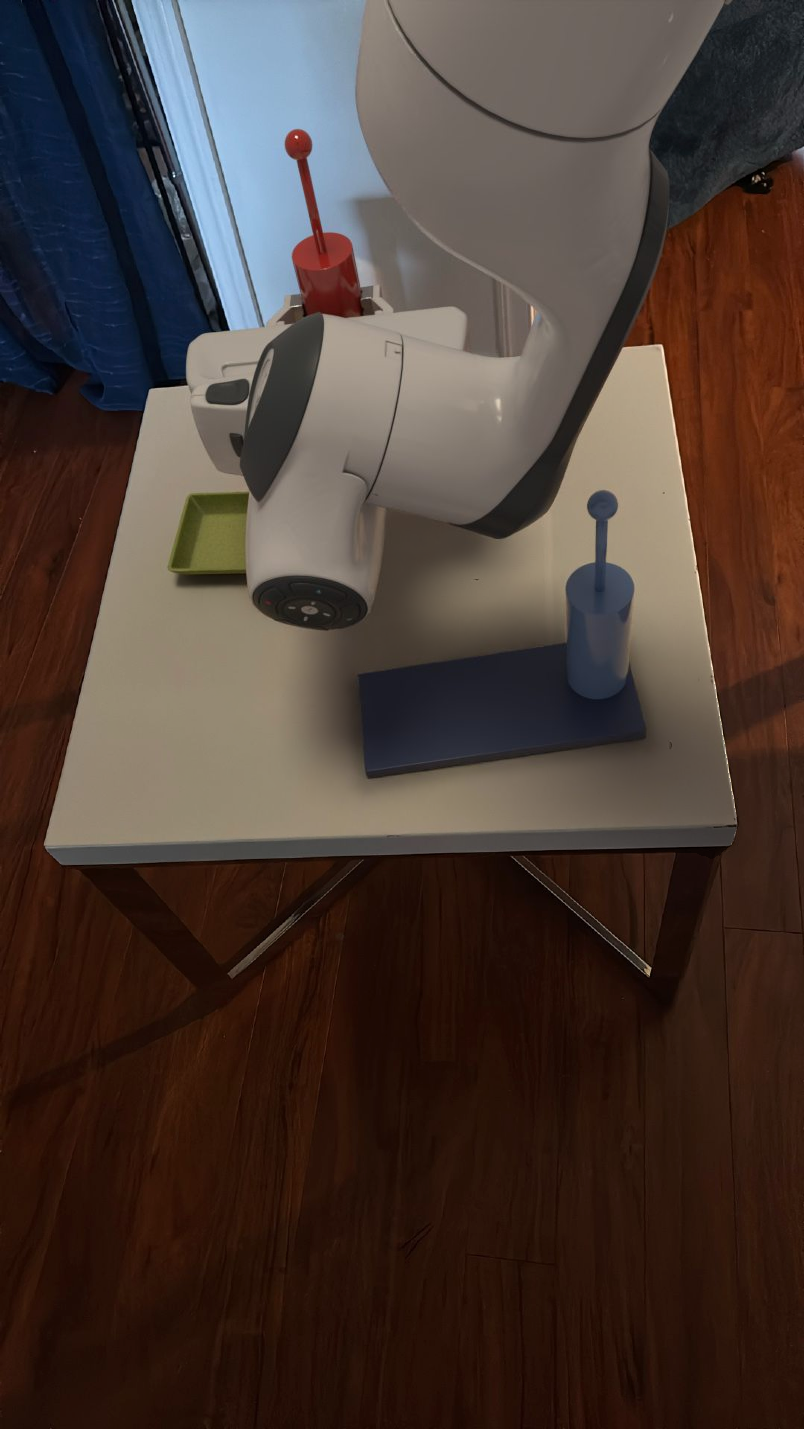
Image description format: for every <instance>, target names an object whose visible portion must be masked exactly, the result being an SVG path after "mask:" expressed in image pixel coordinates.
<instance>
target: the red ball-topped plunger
mask: <svg viewBox="0 0 804 1429" xmlns="http://www.w3.org/2000/svg"><path fill="white" fill-rule="evenodd" d="M284 150H285V152H286V155H288V157H290V158H291V159H292V160H295V162H296V164H297V169H298V173H299V177H300V182H301V187H302V191H303V197H304V200H305V205H306V209H307V213H308V217H309V222H310V227H311V231H312V235H309V236H307V237H305V238H304V239H302V240H300V241H299V242H298V243H297V244H296V245H295V246H294V248H293V250H292V252H291V260H292V265H293V270H294V273H295V276H296V281H297V285H298V289H299V294H301V297H302V301H303V305H304V309H305V313H306V317H307V316H309V315H311V314H314V313H317V312H320V313H321V314H328V315H334V316H339V317H343V318H350V317H359V316H363V308H362V307H361V302H360V295H361V287H362V286H361V282H360V278H359V272H358V267H357V262H356V257H355V252H354V246H353V242H352V241H351V239H350V238H349V237H347V236H346V235H345V234H342V233H338V232H331V231H329V232H328V231H327V232H326V231H325V232H324V231H323V226H322V221H321V217H320V211H319V208H318V203H317V198H316V194H315V190H314V185H313V179H312V175H311V170H310V166H309V161H308V157H309V156H310V155H311V153H312V151H313V140H312V138H311V136H310V134H309V133H308V132H307V131H306V130H305V129H301V128H294V129H292V130H290V131H289V132H288V133H287V134H286V136H285V139H284Z"/></svg>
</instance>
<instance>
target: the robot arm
mask: <svg viewBox="0 0 804 1429" xmlns="http://www.w3.org/2000/svg"><path fill="white" fill-rule="evenodd" d="M732 1H733V0H365V5H364V10H363V15H362V21H361V27H360V34H359V41H358V48H357V56H356V66H355V74H354V75H355V77H354V100H355V108H356V113H357V114H356V115H357V119H358V122H359V127H360V131H361V135H362V137H363V139H364V142H365V143H364V144H365V146H366V149H367V152H368V154H369V156H370V159H371V161H372V163H373V165H374V168H375V169H376V171H377V173H378V175H379V177H380V178H381V180H382V182H383V183H384V185H385V188H386V189H387V191H388V192H389V193H390V195H391V196H392V198H393V199H394V201H395V202H396V204H397V205H398V206H399V207H400V209H401V210H402V211H403V213H404V214H405V216H406V217H408V219H410V222H412V223H413V224H414V226H416V227H417V228H418V229H419V230H420V231H421V232H422V234H424V235H425V236H426V237H427V238H428V239H430V241H432V242H433V243H435V245H437V246H438V247H440V248H441V249H443V250H444V251H445V252H447V253H449V254H450V255H452V256H454V257H455V258H457V259H459V260H460V261H462V262H464V263H466V264H468V265H469V266H471V267H473V268H475V269H477V270H478V271H480V272H482V273H484V274H486V275H487V276H489V277H490V278H492V279H494V280H495V281H497V282H499V283H500V284H502V285H503V286H505V287H506V288H507V289H509V290H510V291H512V292H513V293H515V294H516V295H518V296H519V297H520V298H521V299H523V300H524V301H525V302H526V303H527V304H528V305H529V306H531V308H533V309H534V310H535V311H536V312H535V315H534V318H533V320H532V323H531V325H530V326H531V327H530V329H529V331H528V334H527V337H526V340H525V343H524V345H523V349H522V352H521V354H520V355H519V356H510V357H496V356H487V355H480V354H477V353H472V352H471V338H470V334H471V333H470V326H469V319H468V315H467V314H466V313H465V312H464V311H463V310H461V309H459V308H458V307H457V306H442V307H432V308H423V309H415V310H404V311H397V312H396V311H395V309H394V308H393V306H391V305H390V304H389V303H388V302H387V301H386V300H385V299H384V298H383V292H382V286H381V284H375V285H367V286H360V287H361V295H360V302H361V307H362V308H363V316H359V317H350V318H343V317H339V316H334V315H328V314H321V313H320V312H317V313H314V314H311V315H309V316H307V317H306V313H305V309H304V305H303V301H302V297H301V293H296V294H286V295H284V298H283V307H281V308H280V309H279V310H278V311H276V313H275V314H274V315H272V316H271V318H270V319H268V320H267V321H266V322H265V326H259V327H251V328H242V329H234V330H223V331H216V332H215V331H214V332H205V333H202V334H200V335H198V336H197V337H196V338H195V339H193V340H192V341H191V342H190V343H189V345H188V347H187V351H186V352H187V353H186V361H185V379H186V384H187V386H188V389H189V392H190V399H189V404H190V408H191V414H192V418H193V420H194V423H195V427H196V430H197V433H198V435H199V439H200V440H201V442H202V445H203V447H204V449H205V451H206V454H207V455H208V457H209V459H210V461H211V463H212V464H213V466H214V468H215V469H216V470H217V471H218V472H220V473H222V474H228V475H234V476H240V477H243V479H244V481H245V484H246V486H247V488H248V490H249V492H250V493H249V500H248V508H247V519H246V537H245V556H246V573H245V574H246V575H245V576H246V584H247V592H248V596H249V599H250V601H251V603H252V604H253V606H254V608H256V609H257V610H258V611H259V612H260V613H262V614H263V615H264V616H266V617H267V618H269V619H272V620H273V621H275V622H277V623H280V624H283V625H288V626H291V627H292V626H293V627H297V628H301V629H306V630H307V629H308V630H314V631H322V632H323V631H324V632H329V631H334V630H342V629H346V628H349V627H353V626H355V625H357V624H359V623H361V622H362V621H364V620H365V619H366V618H367V617H368V616H369V615H370V613H371V610H372V607H373V604H374V601H375V598H376V594H377V589H378V584H379V579H380V574H381V568H382V562H383V555H384V546H385V540H386V539H385V536H386V526H387V524H386V522H387V509H388V510H392V511H396V512H401V513H405V514H408V515H414V516H417V517H422V518H427V519H430V520H436V521H438V522H439V521H440V522H442V523H443V522H444V523H447V524H448V525H449V526H453V527H456V528H459V529H462V530H465V531H469V532H471V533H474V534H477V535H481V536H483V537H487V538H490V539H494V540H503V539H506V538H508V537H511V536H513V535H514V534H517V533H518V532H521V531H522V530H524V529H526V528H527V527H529V526H531V525H533V524H534V523H536V522H537V521H538V520H539V519H541V518H542V517H543V516H545V515H546V514H547V513H548V512H549V510H551V507H552V506H553V504H554V502H555V500H556V498H557V496H558V494H559V491H560V488H561V486H562V484H563V483H562V482H563V480H564V478H565V475H566V473H567V470H568V467H569V463H570V461H571V458H572V455H573V452H574V449H575V446H576V444H577V441H578V440H579V439H578V438H579V437H580V434H581V432H582V430H583V428H584V426H585V424H586V422H587V420H588V418H589V416H590V414H591V412H592V410H593V408H594V406H595V404H596V402H597V400H598V398H599V396H600V394H601V393H602V390H603V388H604V386H605V384H606V382H607V380H608V378H609V376H610V374H611V372H612V370H613V369H614V366H615V365H616V362H617V360H618V358H619V356H620V354H621V352H622V350H623V348H624V345H625V344H626V342H627V340H628V338H629V336H630V333H631V332H632V329H633V327H634V325H635V322H636V321H637V318H638V316H639V314H640V312H641V310H642V307H643V305H644V302H645V300H646V298H647V296H648V294H649V290H650V288H651V286H652V283H653V280H654V278H655V275H656V273H657V270H658V267H659V264H660V260H661V256H662V253H663V249H664V244H665V239H666V234H667V227H668V220H669V209H670V179H669V173H668V171H667V170H666V168H665V167H664V166H663V164H662V163H661V162H660V161H659V159H658V158H657V156H656V155H655V154H654V152H653V151H652V150H651V149H650V142H651V141H650V140H651V136H652V132H653V130H654V128H655V125H656V122H657V120H658V118H659V116H660V115H661V113H662V111H663V110H664V107H665V106H666V104H667V102H668V101H669V99H670V98H671V96H672V95H673V94H674V92H675V90H676V88H677V87H678V85H679V83H680V82H681V80H682V79H683V77H684V75H685V73H686V72H687V70H688V69H689V67H690V65H691V63H692V62H693V60H694V59H695V57H696V55H697V54H698V52H699V50H700V48H701V46H702V45H703V43H704V40H705V39H706V37H707V35H708V34H709V33H710V31H711V29H712V26H713V25H714V23H715V21H716V19H717V17H718V15H719V14H720V12H721V10H722V8H723V6H724V4H725V5H727V6H728V5H730V4H731V3H732Z"/></svg>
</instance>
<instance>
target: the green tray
mask: <svg viewBox="0 0 804 1429" xmlns="http://www.w3.org/2000/svg"><path fill="white" fill-rule="evenodd" d="M249 493H250V491H232V492H231V491H230V492H227V491H226V492H225V491H224V492H192V493H191V492H190V493H189V494H188V495H186V498H185V501H184V505H183V509H182V513H181V515H180V520H179V525H178V527H177V531H176V534H175V537H174V538H175V539H174V542H173V545H172V549H171V552H170V556H169V560H168V564H167V571H168V572H170V573H174V574H178V575H224V574H225V575H226V574H227V575H228V574H229V575H230V574H231V575H232V574H234V575H235V574H237V575H238V574H246V556H245V537H246V519H247V508H248V500H249Z"/></svg>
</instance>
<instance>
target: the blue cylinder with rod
mask: <svg viewBox="0 0 804 1429" xmlns="http://www.w3.org/2000/svg"><path fill="white" fill-rule="evenodd" d="M618 509H619V500H618V498H617V496H616V495H615V494H614V493H613V492H611V491H610V490H607V489H600V490H599V489H598V490H596V491H594V492H593V493H591V495H590V496H589V497H588V499H587V503H586V511H587V513H588V515H589V516H590V518H591V519H593V520H595V542H594V543H595V544H594V545H595V546H594V547H595V548H594V562H589V563H586V564H584V565H581V566H580V567H579V566H578V567H577V569H575V570H574V571H573V572H571V574H570V575H569V577H568V578H567V580H566V582H565V589H564V590H565V592H564V593H565V594H564V596H565V598H564V599H565V642H566V676H567V681H568V683H569V685H570V687H571V688H572V689H573V690H574V691H575V692H576V693H578V694H579V695H581V696H583V697H586V698H589V699H605V698H609V697H611V696H614V695H615V694H617V693H618V692H619V691H621V689H622V688H623V687H624V686H625V684H626V682H627V678H628V667H629V663H630V654H631V641H632V640H631V639H632V627H633V616H634V614H633V613H634V603H635V602H634V601H635V582H634V580H633V578H632V576H631V574H630V573H629V572H628V571H626V570H625V569H624V568H623V567H621V566H619V565H617V564H616V563H615V564H614V563H612V562H607V558H608V555H607V554H608V553H607V552H608V534H609V533H608V530H609V529H608V528H609V521H610V520H611V519H612V518H614V517H615V515H616V514H617V512H618Z"/></svg>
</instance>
